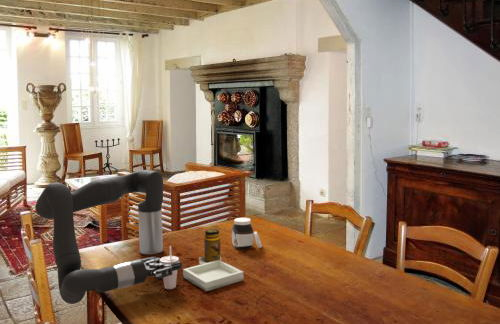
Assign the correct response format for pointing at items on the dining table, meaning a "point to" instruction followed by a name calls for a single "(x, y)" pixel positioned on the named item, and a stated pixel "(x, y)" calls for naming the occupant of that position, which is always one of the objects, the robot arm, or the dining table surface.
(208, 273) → the tray
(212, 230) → the condiment
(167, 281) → the smoothie
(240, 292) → the dining table surface
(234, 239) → the spread jar
